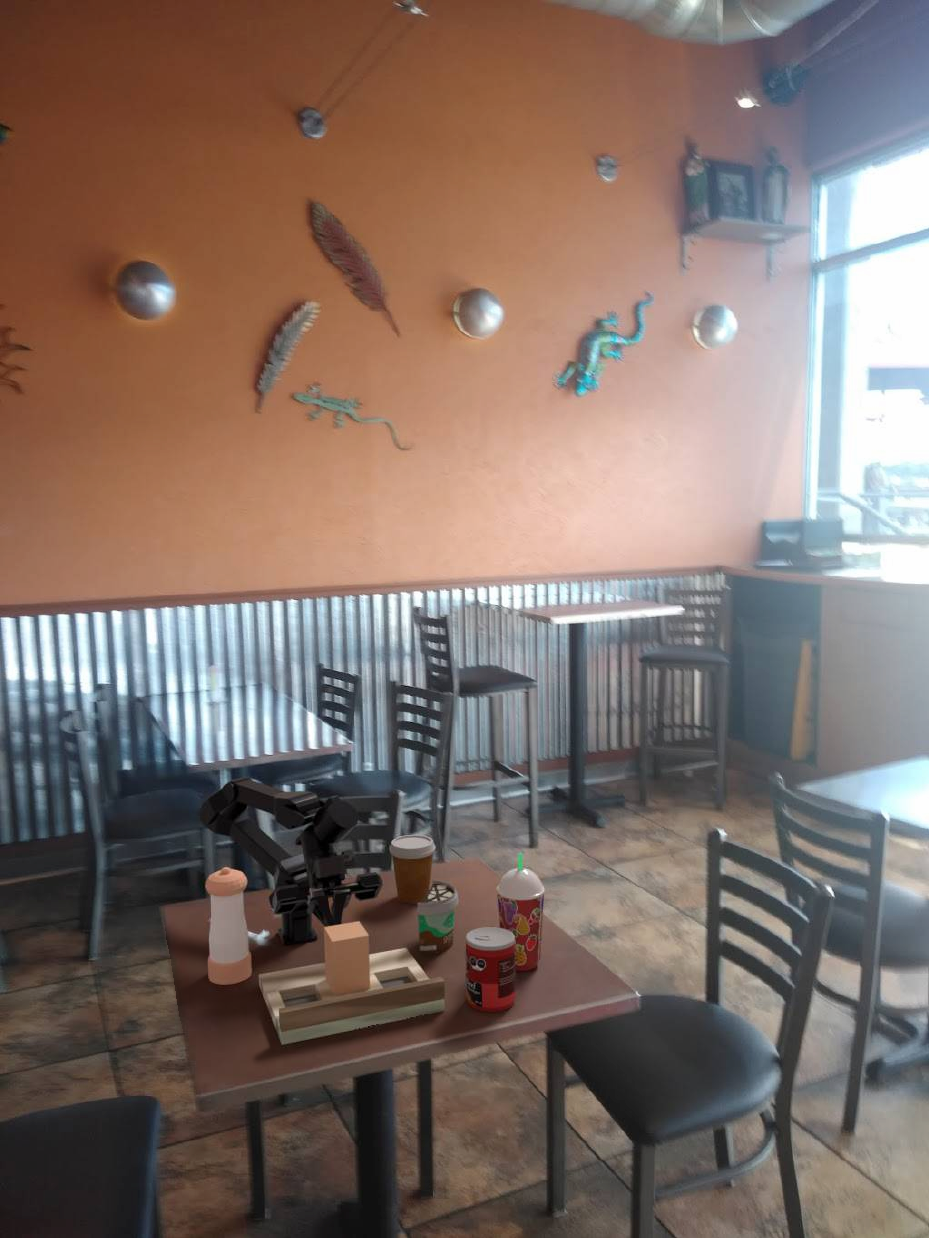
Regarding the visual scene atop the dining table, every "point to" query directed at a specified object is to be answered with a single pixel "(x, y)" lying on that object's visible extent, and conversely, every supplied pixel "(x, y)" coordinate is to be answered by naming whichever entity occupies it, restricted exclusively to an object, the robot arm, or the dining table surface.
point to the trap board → (349, 997)
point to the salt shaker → (228, 928)
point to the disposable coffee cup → (412, 866)
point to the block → (347, 958)
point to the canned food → (490, 969)
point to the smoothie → (522, 913)
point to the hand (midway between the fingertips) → (337, 939)
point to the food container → (437, 918)
